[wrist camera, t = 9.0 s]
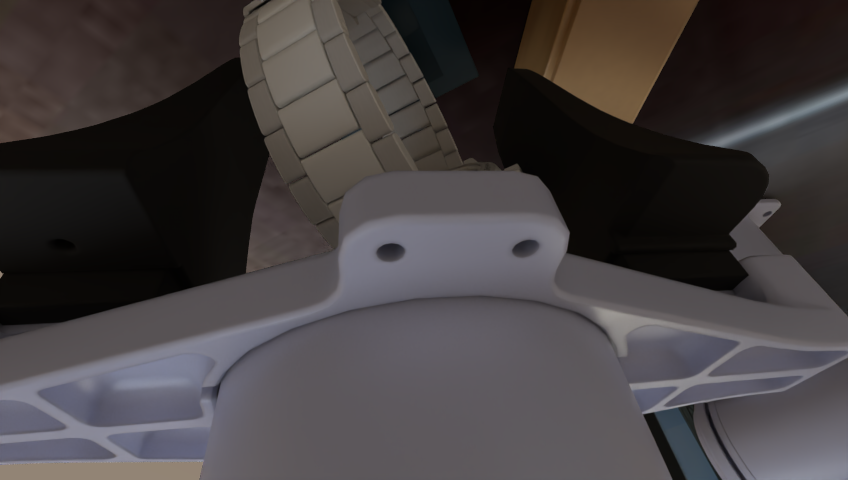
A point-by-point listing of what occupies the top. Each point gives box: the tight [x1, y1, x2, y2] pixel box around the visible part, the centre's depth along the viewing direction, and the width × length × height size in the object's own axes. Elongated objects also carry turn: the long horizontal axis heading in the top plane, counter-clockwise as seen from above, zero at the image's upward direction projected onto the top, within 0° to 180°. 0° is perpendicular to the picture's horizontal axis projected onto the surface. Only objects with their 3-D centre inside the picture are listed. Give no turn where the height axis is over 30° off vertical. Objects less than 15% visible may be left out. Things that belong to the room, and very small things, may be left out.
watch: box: [239, 0, 523, 249], centre depth 12 cm, size 6×8×11 cm
